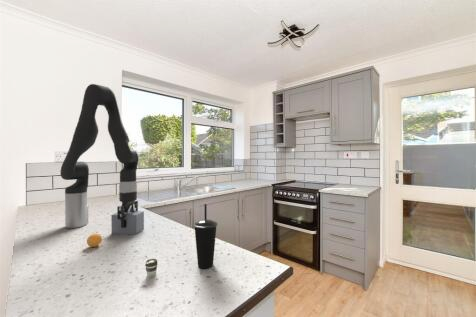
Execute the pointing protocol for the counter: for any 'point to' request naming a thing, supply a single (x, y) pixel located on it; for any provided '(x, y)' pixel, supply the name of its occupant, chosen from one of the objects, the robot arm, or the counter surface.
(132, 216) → the matte grey box
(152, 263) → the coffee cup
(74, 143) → the robot arm
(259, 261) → the counter surface
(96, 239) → the ball
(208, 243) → the drinking cup
